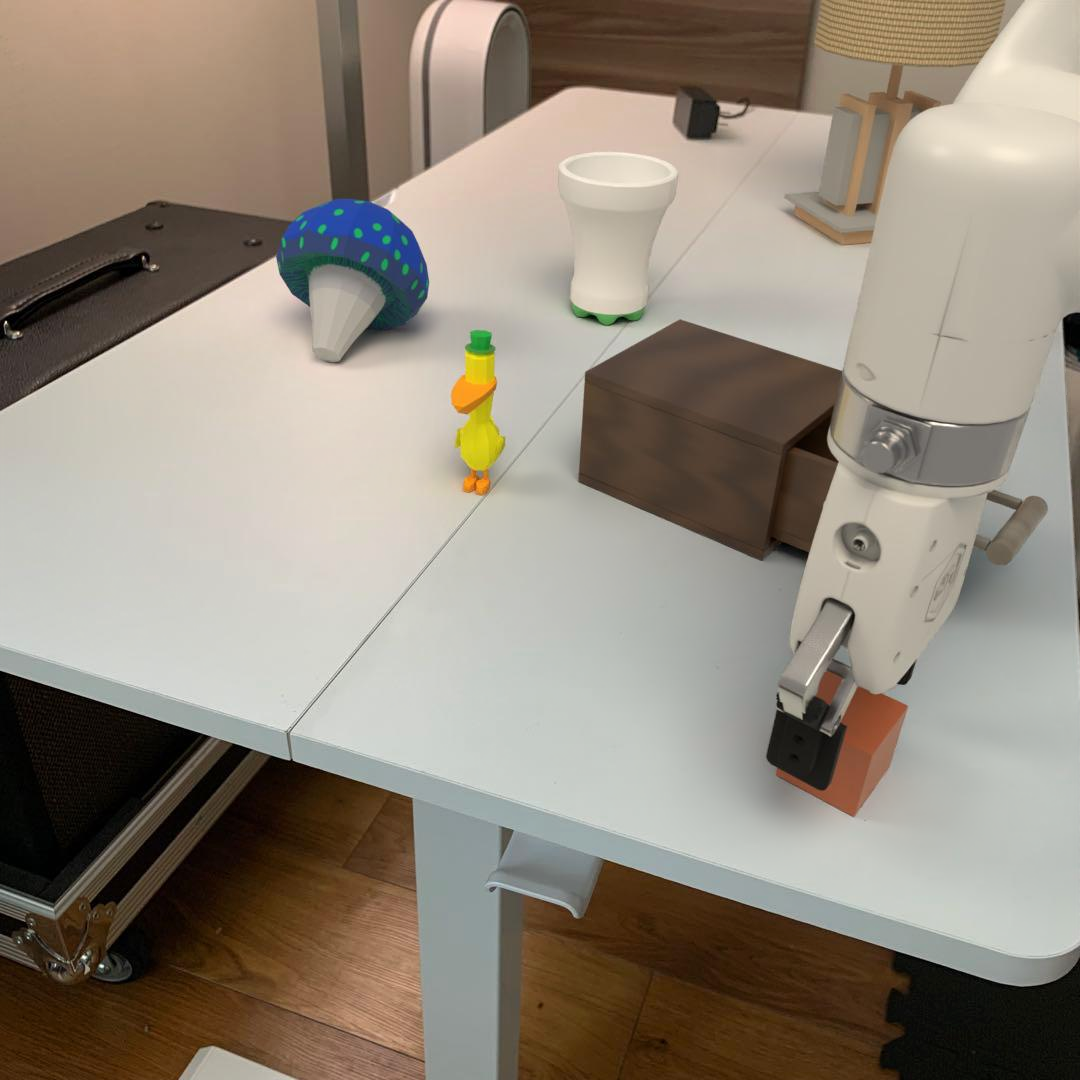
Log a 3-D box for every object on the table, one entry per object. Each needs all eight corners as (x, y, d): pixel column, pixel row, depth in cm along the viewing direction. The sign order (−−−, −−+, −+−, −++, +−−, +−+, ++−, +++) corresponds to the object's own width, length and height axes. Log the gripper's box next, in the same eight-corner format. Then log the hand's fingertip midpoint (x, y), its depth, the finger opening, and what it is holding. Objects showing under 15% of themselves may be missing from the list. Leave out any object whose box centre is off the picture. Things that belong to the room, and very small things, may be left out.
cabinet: (842, 487, 81) (866, 378, 76) (762, 561, 73) (783, 444, 67) (668, 421, 89) (679, 318, 83) (577, 481, 80) (584, 371, 75)
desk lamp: (887, 196, 143) (954, -112, 123) (980, 245, 128) (1073, -98, 107) (757, 206, 137) (804, -115, 117) (837, 259, 122) (907, -99, 102)
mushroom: (236, 295, 88) (290, 146, 92) (258, 369, 101) (305, 236, 106) (403, 340, 88) (449, 190, 93) (403, 408, 102) (443, 274, 106)
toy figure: (482, 516, 76) (482, 361, 69) (436, 506, 77) (431, 352, 70) (513, 470, 81) (516, 322, 75) (469, 461, 82) (468, 315, 75)
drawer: (1037, 553, 73) (1071, 461, 69) (979, 635, 65) (1013, 537, 61) (789, 460, 82) (805, 374, 78) (713, 523, 75) (727, 431, 71)
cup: (591, 282, 114) (600, 144, 106) (683, 308, 109) (699, 166, 101) (530, 314, 106) (534, 168, 98) (625, 344, 101) (638, 193, 93)
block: (889, 767, 57) (908, 705, 55) (854, 817, 54) (872, 755, 52) (813, 728, 60) (828, 667, 57) (775, 775, 57) (789, 713, 54)
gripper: (933, 543, 37) (834, 863, 47) (1074, 384, 49) (971, 667, 59) (745, 469, 41) (689, 780, 51) (917, 337, 53) (844, 611, 62)
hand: (840, 719), depth 55 cm, fingers open, 9 cm apart
